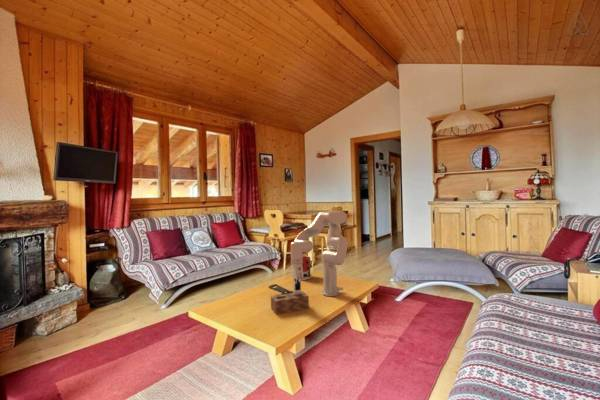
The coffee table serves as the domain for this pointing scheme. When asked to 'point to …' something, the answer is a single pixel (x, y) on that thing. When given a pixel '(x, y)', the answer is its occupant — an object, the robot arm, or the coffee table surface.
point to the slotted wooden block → (289, 302)
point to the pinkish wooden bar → (296, 292)
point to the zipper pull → (280, 289)
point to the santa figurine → (306, 267)
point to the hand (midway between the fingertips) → (297, 289)
